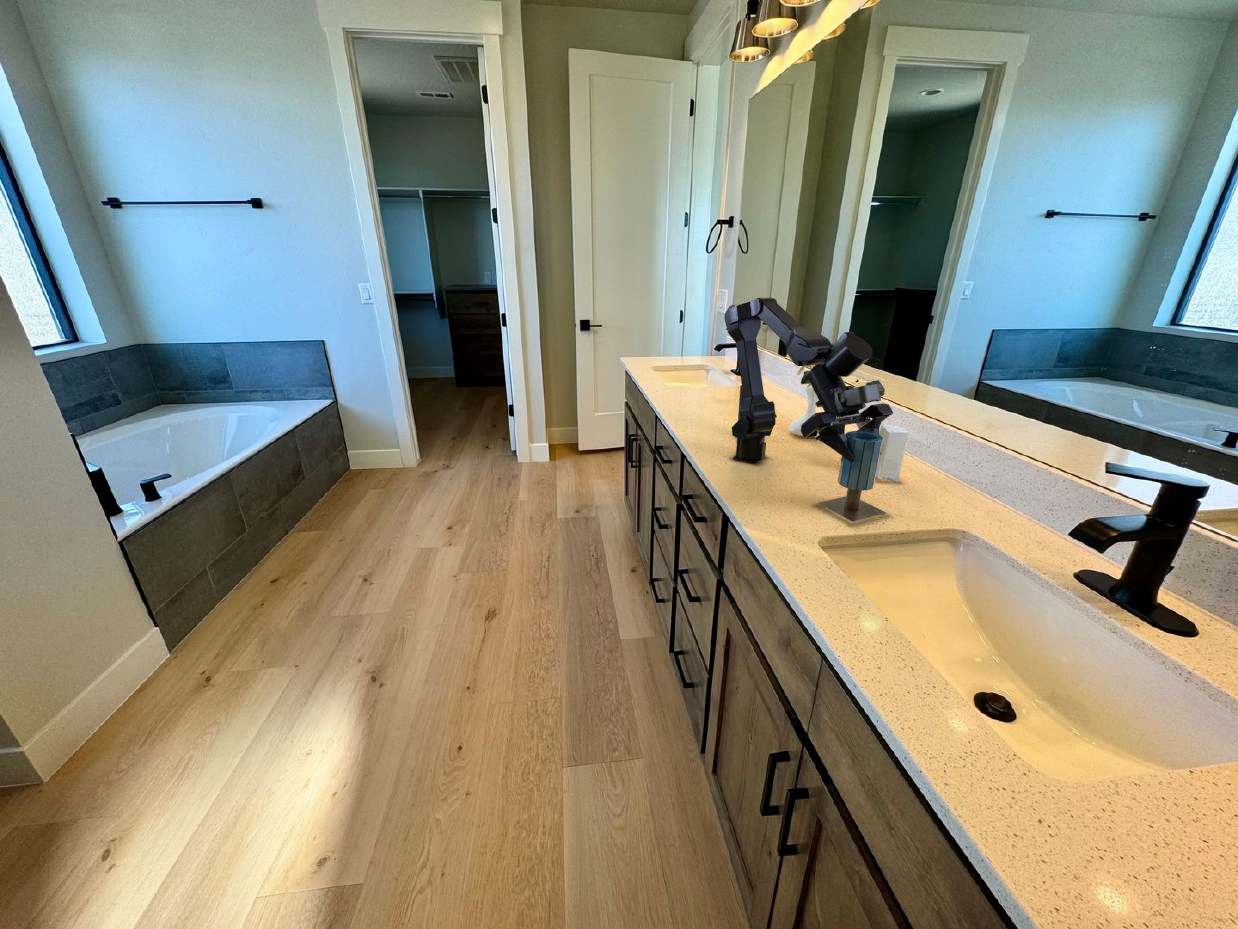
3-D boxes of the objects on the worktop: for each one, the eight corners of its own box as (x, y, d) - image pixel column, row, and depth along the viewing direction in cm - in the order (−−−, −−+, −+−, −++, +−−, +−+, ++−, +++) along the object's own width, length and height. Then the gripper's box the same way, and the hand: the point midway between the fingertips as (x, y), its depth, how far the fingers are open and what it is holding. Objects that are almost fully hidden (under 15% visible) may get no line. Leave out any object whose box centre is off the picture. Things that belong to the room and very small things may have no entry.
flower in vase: (799, 427, 154) (809, 345, 145) (835, 434, 146) (848, 349, 137) (777, 436, 145) (786, 350, 136) (814, 444, 138) (826, 354, 129)
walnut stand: (817, 506, 102) (820, 480, 99) (849, 498, 105) (854, 473, 103) (851, 525, 94) (856, 497, 92) (886, 516, 97) (891, 489, 95)
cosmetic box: (898, 483, 112) (909, 433, 108) (878, 481, 113) (888, 432, 108) (890, 473, 118) (900, 425, 113) (871, 472, 118) (880, 424, 114)
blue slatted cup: (834, 485, 97) (841, 437, 93) (842, 475, 101) (850, 428, 98) (869, 493, 93) (878, 443, 89) (876, 482, 98) (886, 434, 94)
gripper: (819, 370, 89) (858, 446, 84) (894, 362, 96) (934, 432, 90) (785, 403, 99) (818, 473, 93) (855, 394, 105) (889, 458, 100)
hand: (866, 458), depth 94 cm, fingers closed on blue slatted cup, 6 cm apart
